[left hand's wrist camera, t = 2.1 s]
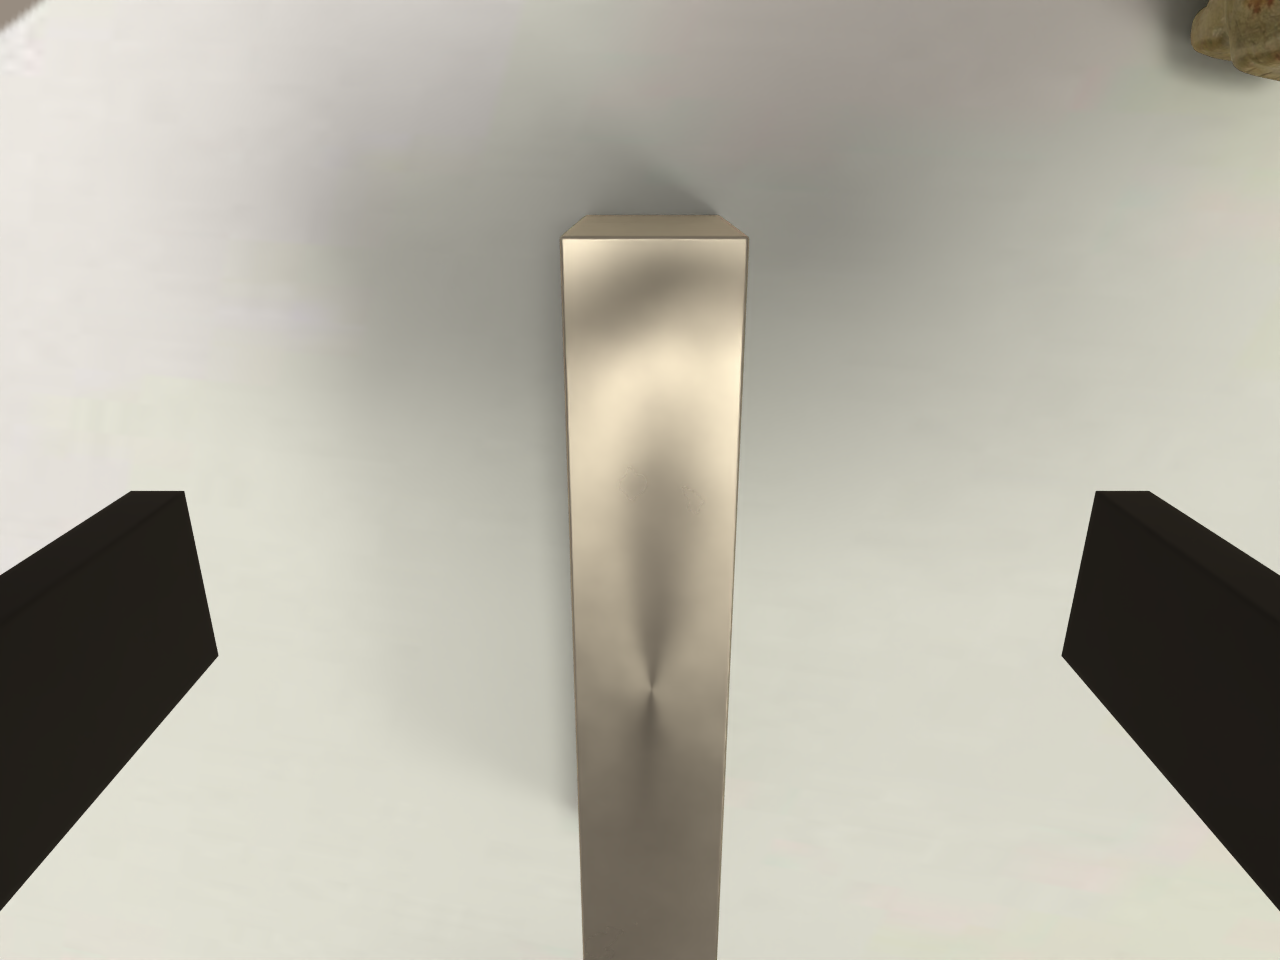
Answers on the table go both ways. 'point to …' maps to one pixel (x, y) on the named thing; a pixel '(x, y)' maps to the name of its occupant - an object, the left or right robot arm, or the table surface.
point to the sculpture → (1241, 34)
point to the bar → (652, 567)
